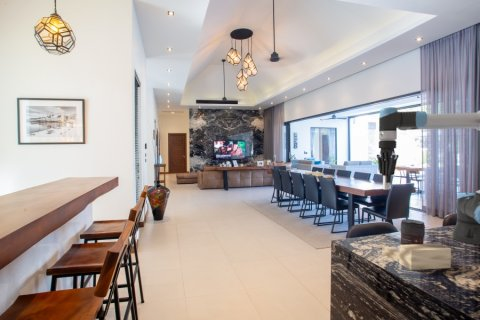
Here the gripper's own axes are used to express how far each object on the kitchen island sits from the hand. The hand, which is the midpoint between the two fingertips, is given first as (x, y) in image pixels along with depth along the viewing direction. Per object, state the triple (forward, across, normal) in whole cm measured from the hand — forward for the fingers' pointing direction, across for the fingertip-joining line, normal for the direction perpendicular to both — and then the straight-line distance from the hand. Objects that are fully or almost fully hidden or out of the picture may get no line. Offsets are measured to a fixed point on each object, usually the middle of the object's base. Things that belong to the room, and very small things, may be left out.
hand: (386, 189), depth 135 cm
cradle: (+24, +26, -6) cm, 36 cm away
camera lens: (+25, +24, -6) cm, 35 cm away
